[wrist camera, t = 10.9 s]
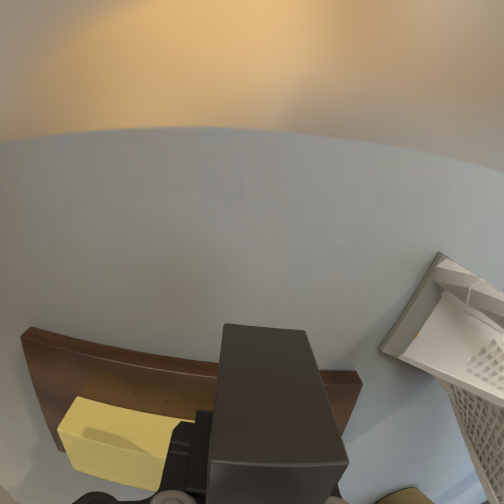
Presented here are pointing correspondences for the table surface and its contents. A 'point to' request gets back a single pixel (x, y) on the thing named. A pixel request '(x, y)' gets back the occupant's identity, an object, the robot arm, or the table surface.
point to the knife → (271, 422)
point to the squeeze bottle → (406, 497)
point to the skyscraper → (461, 358)
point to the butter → (117, 442)
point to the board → (140, 380)
